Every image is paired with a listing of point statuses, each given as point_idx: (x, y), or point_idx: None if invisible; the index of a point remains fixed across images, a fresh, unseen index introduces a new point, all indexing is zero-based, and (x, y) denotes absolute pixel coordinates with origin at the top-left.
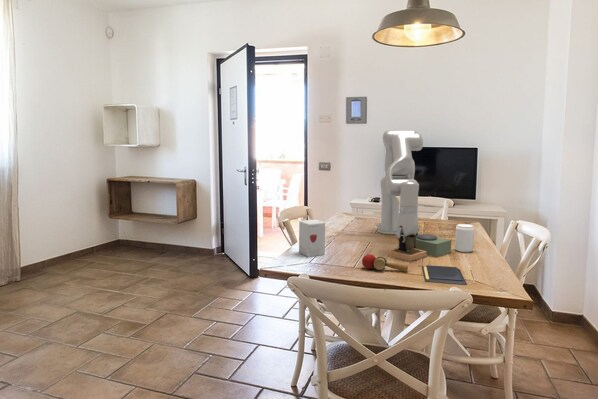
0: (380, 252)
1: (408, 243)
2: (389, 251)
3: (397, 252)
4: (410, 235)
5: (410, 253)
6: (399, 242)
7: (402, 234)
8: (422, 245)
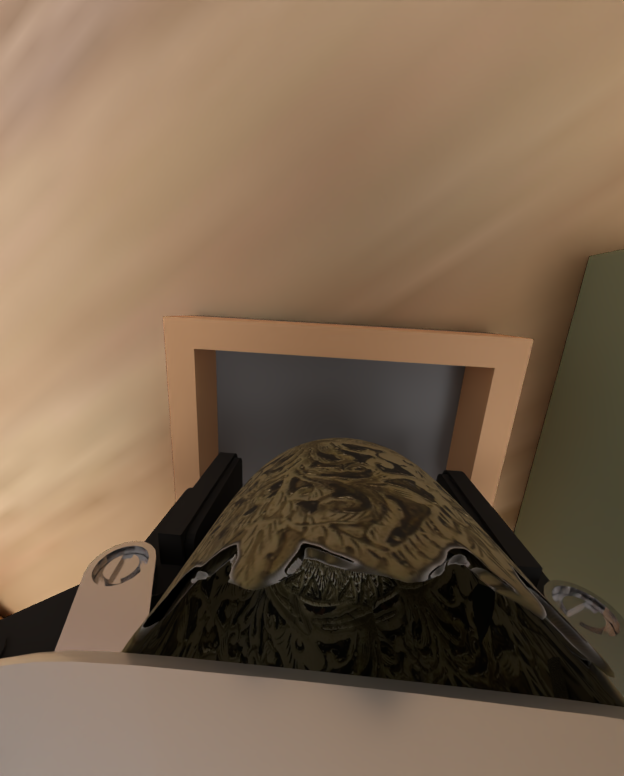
0: (260, 146)
1: (240, 646)
2: (168, 345)
3: (186, 451)
4: (562, 687)
5: (417, 454)
6: (172, 526)
7: (438, 560)
8: (595, 581)
